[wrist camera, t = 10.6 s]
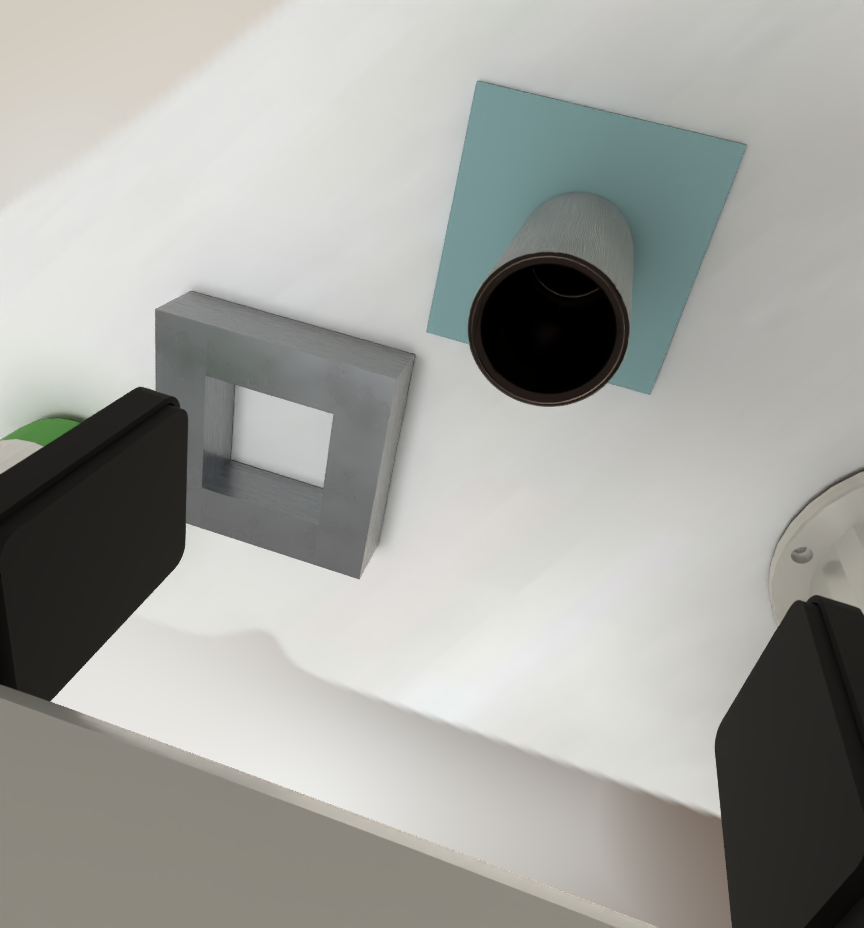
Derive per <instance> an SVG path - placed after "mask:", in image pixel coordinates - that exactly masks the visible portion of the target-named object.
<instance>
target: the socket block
mask: <svg viewBox="0 0 864 928" xmlns="http://www.w3.org/2000/svg"><path fill="white" fill-rule="evenodd" d="M155 344H156V391H157V392H160V393H164V394H167V395H170V396H173V397H175V398H177V399H178V401H179V404H180V408H181V409H184V410H185V411H186V412H187V414H188V452H187V493H186V523H187V524H190V525H194V526H197V527H200V528H203V529H206V530H209V531H212V532H215V533H218V534H221V535H224V536H227V537H231V538H234V539H237V540H240V541H243V542H246V543H249V544H252V545H255V546H258V547H261V548H264V549H267V550H271V551H274V552H277V553H280V554H283V555H286V556H289V557H292V558H295V559H298V560H301V561H304V562H308V563H311V564H314V565H317V566H320V567H323V568H326V569H329V570H332V571H335V572H338V573H341V574H344V575H348V576H351V577H354V578H357V579H360V577H361V576H362V574H363V572H364V570H365V568H366V566H367V564H368V563H369V561H370V559H371V557H372V555H373V553H374V552H375V550H376V548H377V546H378V542H379V537H380V532H381V527H382V521H383V516H384V511H385V506H386V501H387V496H388V491H389V486H390V481H391V475H392V470H393V465H394V460H395V455H396V450H397V445H398V440H399V434H400V429H401V424H402V419H403V414H404V409H405V404H406V399H407V394H408V388H409V383H410V378H411V373H412V368H413V363H414V358H415V355H414V354H411V353H407V352H404V351H400V350H397V349H393V348H390V347H386V346H383V345H379V344H376V343H372V342H369V341H365V340H362V339H358V338H355V337H351V336H348V335H344V334H341V333H337V332H334V331H330V330H327V329H323V328H320V327H316V326H313V325H309V324H305V323H302V322H298V321H295V320H291V319H288V318H284V317H281V316H277V315H274V314H270V313H267V312H263V311H260V310H256V309H253V308H249V307H246V306H242V305H239V304H235V303H232V302H228V301H225V300H221V299H218V298H214V297H211V296H207V295H204V294H200V293H197V292H193V291H190V292H188V293H186V294H184V295H182V296H180V297H178V298H176V299H174V300H172V301H170V302H168V303H167V304H165V305H163V306H161V307H159V308H157V309H155ZM235 385H238V386H241V387H245V388H248V389H251V390H255V391H258V392H261V393H265V394H268V395H271V396H275V397H278V398H282V399H285V400H288V401H292V402H295V403H298V404H302V405H305V406H308V407H312V408H315V409H318V410H322V411H325V412H328V413H332V414H334V416H333V423H332V430H331V437H330V444H329V452H328V459H327V466H326V473H325V480H324V488H323V489H322V488H319V487H316V486H313V485H310V484H306V483H303V482H300V481H297V480H294V479H290V478H287V477H284V476H281V475H278V474H274V473H271V472H268V471H265V470H261V469H258V468H255V467H252V466H249V465H245V464H242V463H239V462H236V461H233V460H231V444H232V426H233V409H234V392H235Z"/></svg>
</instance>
